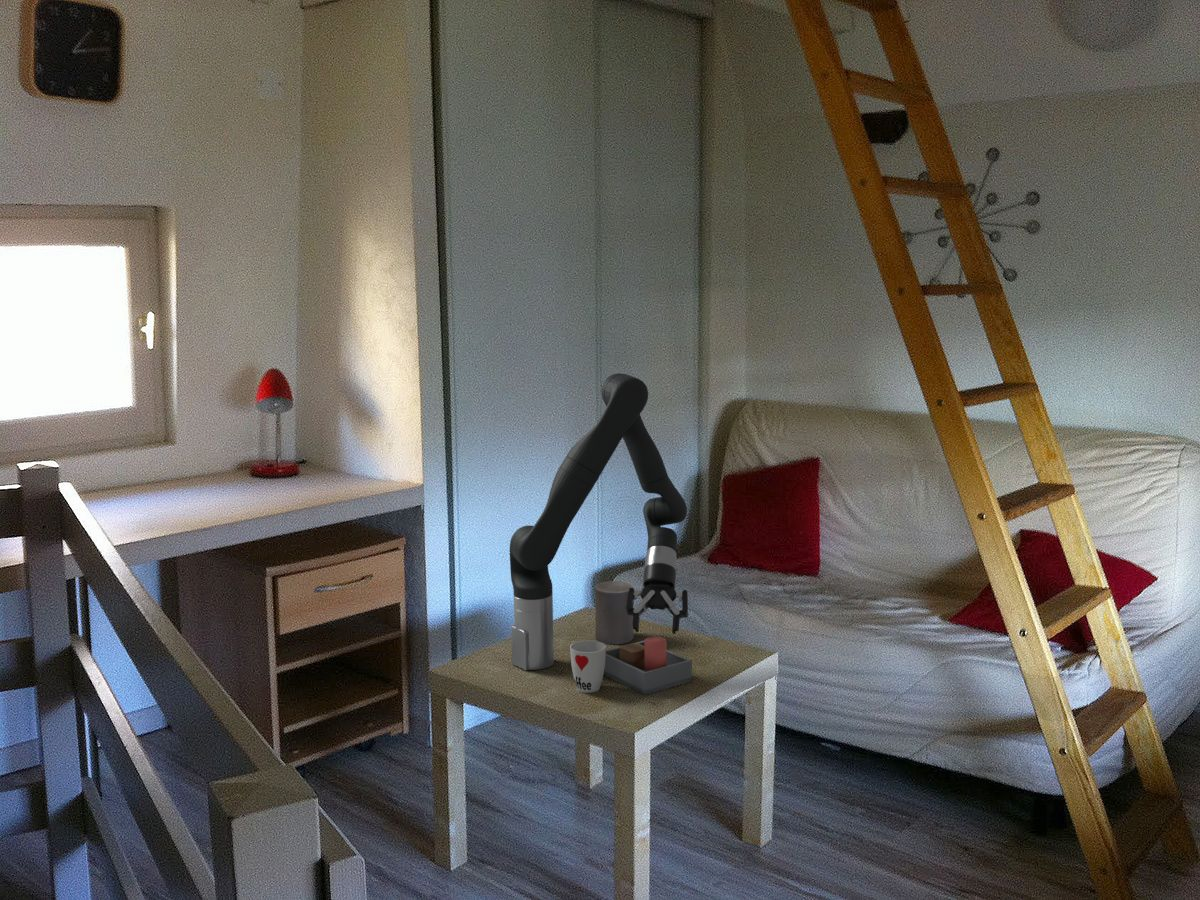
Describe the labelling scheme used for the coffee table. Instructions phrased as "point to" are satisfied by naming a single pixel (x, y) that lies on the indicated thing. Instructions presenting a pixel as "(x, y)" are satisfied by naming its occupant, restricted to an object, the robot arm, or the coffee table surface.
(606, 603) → the pillar candle
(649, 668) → the red capsule
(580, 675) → the cup
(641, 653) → the walnut cube
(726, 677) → the coffee table surface
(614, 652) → the tote
